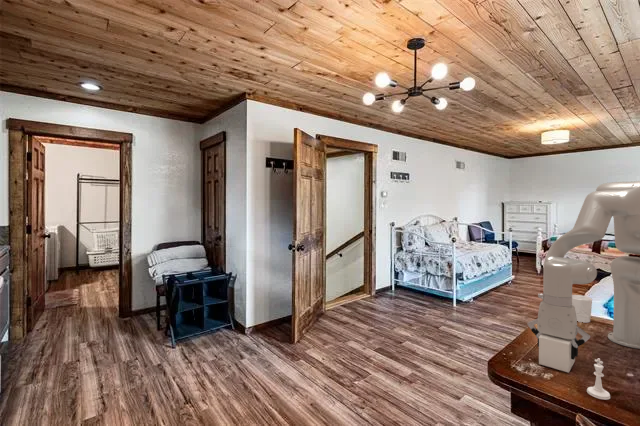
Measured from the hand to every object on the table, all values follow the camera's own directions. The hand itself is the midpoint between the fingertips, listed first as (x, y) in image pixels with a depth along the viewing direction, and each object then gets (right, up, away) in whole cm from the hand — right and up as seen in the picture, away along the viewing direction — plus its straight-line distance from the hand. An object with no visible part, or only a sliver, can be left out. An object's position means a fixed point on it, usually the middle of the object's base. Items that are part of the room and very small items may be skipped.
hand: (557, 353), depth 107 cm
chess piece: (0, -5, -16) cm, 17 cm away
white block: (0, -3, 0) cm, 3 cm away
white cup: (+37, -2, +37) cm, 52 cm away
